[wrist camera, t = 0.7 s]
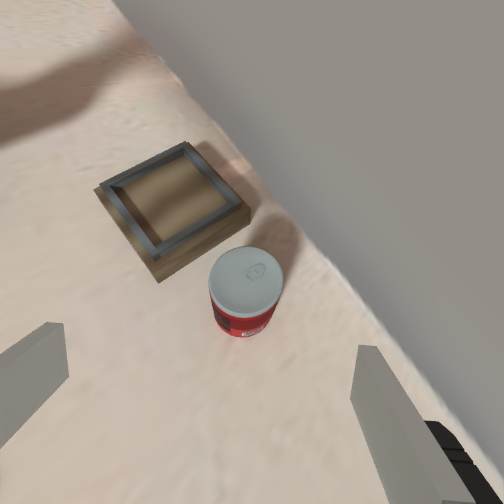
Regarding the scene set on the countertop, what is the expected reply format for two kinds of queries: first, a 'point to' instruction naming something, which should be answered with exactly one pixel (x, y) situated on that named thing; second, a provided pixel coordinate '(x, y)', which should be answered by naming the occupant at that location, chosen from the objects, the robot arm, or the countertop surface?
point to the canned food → (245, 290)
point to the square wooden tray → (173, 208)
